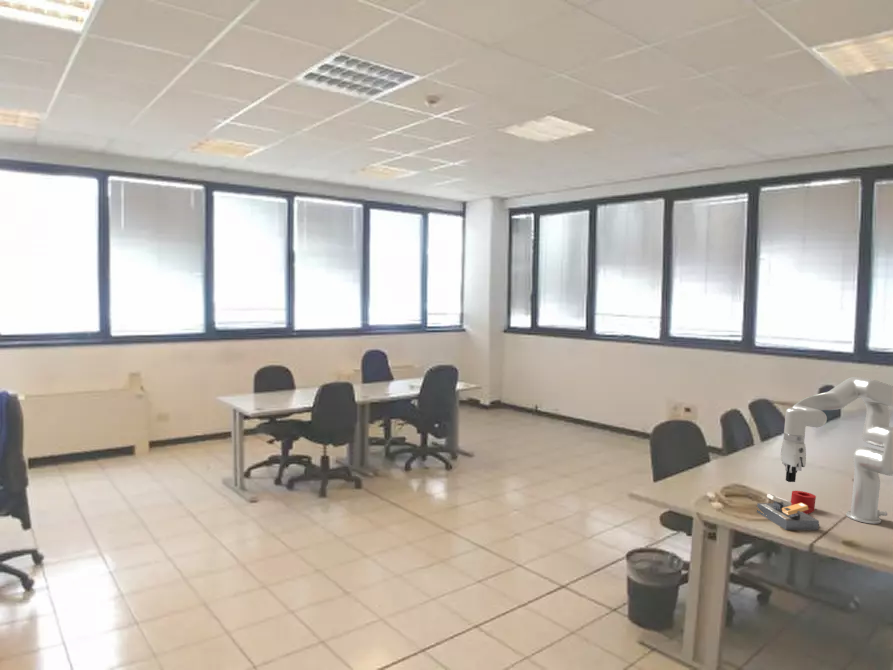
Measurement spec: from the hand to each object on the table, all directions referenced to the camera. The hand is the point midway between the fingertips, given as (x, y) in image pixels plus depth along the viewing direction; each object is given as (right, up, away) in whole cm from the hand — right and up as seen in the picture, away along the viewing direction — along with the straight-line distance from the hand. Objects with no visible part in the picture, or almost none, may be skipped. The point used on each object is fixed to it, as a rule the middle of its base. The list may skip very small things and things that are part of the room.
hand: (790, 481), depth 252 cm
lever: (+16, -18, +20) cm, 31 cm away
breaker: (+2, -12, +12) cm, 17 cm away
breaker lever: (+3, -12, +1) cm, 13 cm away
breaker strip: (+2, -19, +7) cm, 20 cm away
